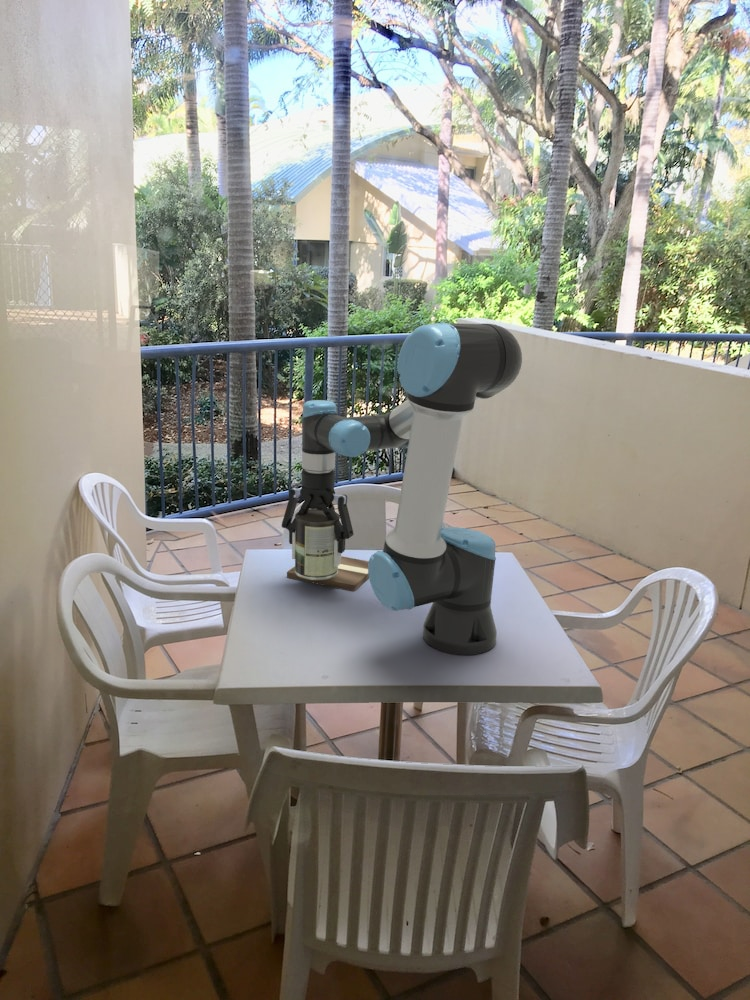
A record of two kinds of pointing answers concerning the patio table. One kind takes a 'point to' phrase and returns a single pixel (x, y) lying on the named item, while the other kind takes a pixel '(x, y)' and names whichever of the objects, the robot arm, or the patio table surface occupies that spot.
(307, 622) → the patio table surface
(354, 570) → the strip
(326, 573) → the coffee can
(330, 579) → the board
